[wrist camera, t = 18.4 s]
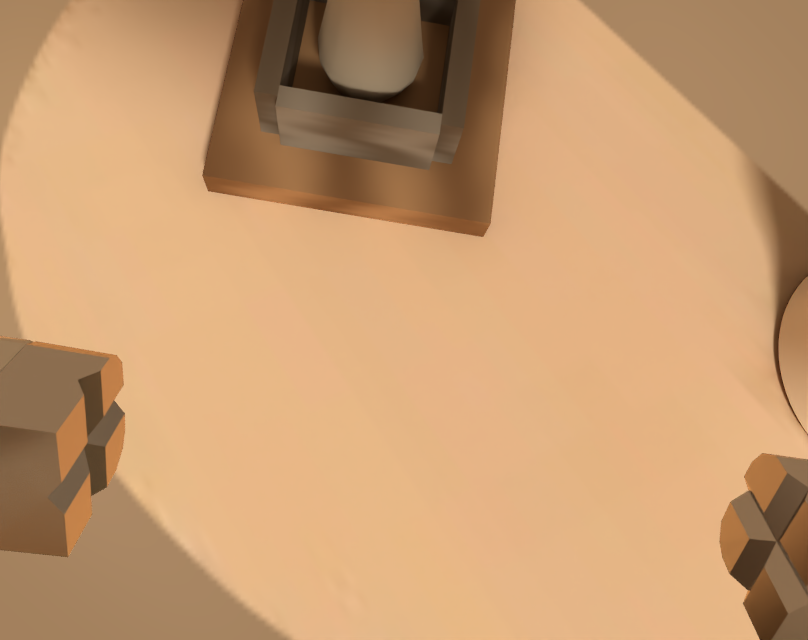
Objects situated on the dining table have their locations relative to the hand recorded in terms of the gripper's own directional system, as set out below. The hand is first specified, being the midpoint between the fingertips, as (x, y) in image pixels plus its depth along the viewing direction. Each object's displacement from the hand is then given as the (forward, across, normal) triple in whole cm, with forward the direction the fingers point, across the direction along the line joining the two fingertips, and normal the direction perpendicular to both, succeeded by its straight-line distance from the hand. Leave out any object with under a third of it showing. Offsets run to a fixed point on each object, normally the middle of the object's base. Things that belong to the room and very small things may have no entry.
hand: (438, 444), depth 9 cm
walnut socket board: (+37, +3, +4) cm, 38 cm away
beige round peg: (+36, +3, +3) cm, 36 cm away
